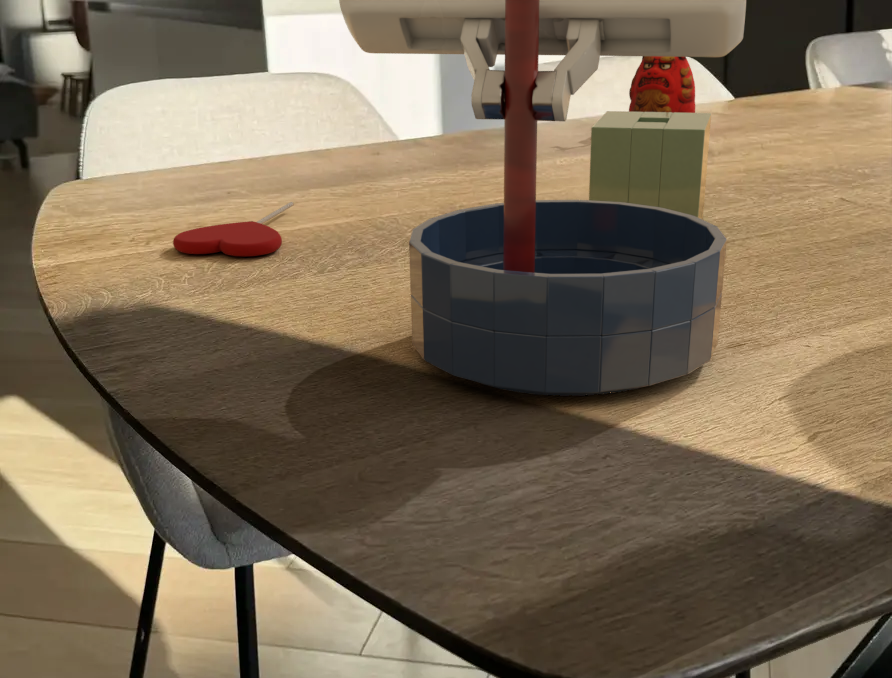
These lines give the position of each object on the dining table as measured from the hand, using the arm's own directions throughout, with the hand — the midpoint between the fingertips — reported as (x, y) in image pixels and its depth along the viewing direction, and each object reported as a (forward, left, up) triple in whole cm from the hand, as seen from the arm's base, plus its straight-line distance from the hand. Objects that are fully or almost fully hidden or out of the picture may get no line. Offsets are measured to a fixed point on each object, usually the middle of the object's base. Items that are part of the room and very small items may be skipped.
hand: (518, 113), depth 53 cm
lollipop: (-1, -35, -13) cm, 38 cm away
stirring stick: (0, 0, -10) cm, 10 cm away
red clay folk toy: (-59, -51, -13) cm, 80 cm away
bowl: (-3, 0, -13) cm, 13 cm away
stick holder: (-26, -18, -13) cm, 35 cm away
